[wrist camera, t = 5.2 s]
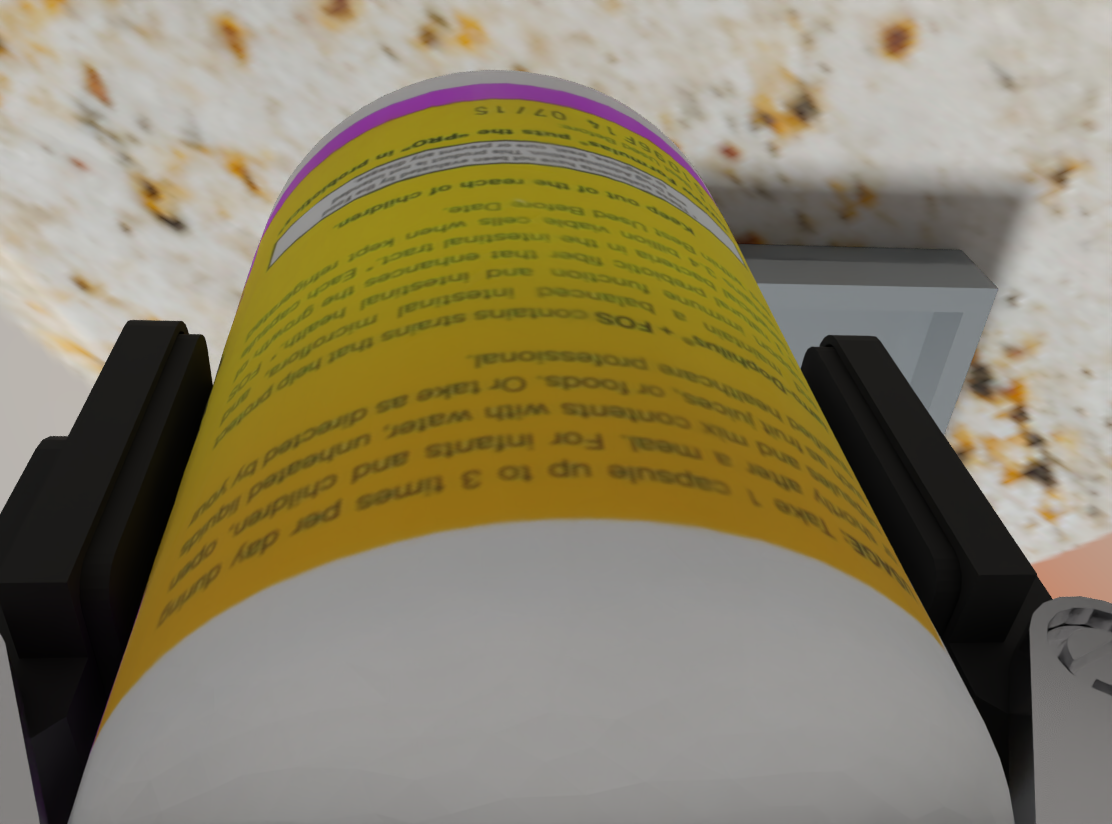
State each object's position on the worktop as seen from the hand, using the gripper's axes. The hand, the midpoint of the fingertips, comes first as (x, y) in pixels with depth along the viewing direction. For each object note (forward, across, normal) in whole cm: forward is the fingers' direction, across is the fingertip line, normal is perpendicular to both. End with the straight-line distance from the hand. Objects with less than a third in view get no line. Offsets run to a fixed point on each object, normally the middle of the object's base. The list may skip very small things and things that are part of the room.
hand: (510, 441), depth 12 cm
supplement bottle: (+4, 0, 0) cm, 4 cm away
